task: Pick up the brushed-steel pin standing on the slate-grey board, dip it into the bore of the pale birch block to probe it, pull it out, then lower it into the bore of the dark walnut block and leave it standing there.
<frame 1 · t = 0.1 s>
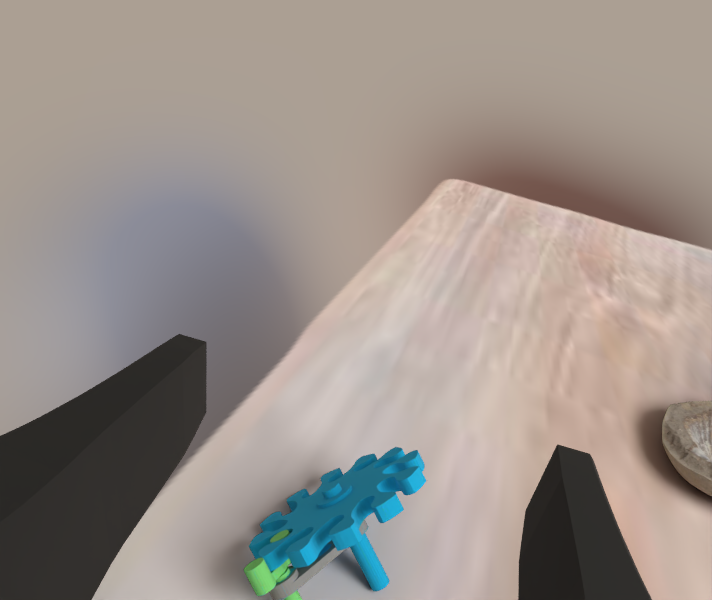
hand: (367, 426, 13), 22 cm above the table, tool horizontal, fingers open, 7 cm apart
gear: (323, 558, 36), on the table
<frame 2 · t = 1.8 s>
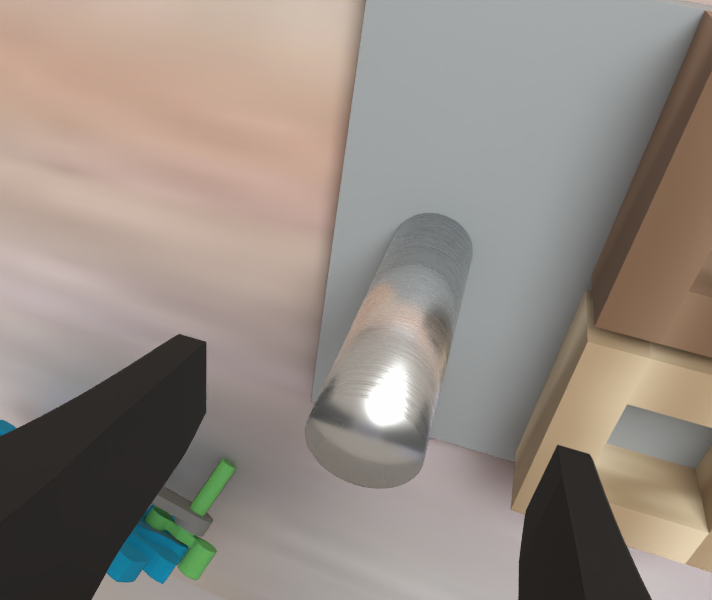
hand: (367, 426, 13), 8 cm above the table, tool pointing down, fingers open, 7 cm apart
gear: (141, 434, 29), on the table
board: (601, 279, 19), on the table
block birch: (659, 410, 20), resting on board
pin: (432, 249, 19), point 1 cm above the table, touching board
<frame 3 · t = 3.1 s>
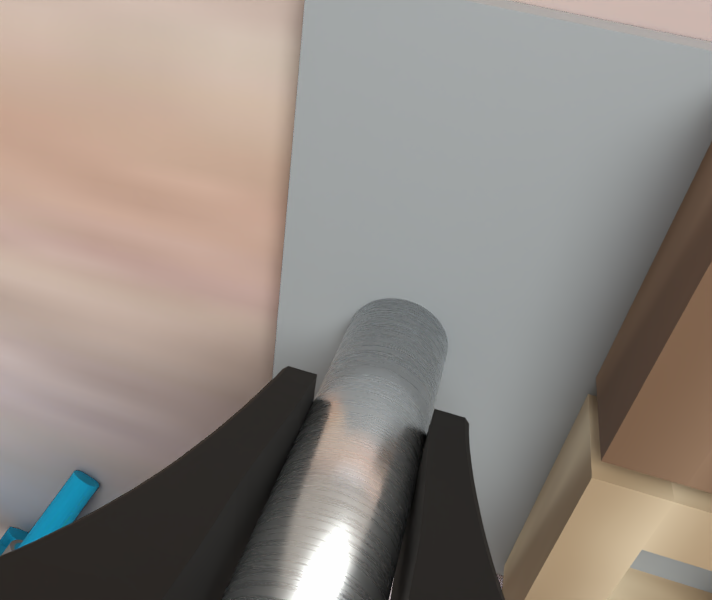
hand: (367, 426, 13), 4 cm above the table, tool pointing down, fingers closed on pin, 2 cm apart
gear: (81, 513, 26), on the table
board: (608, 377, 15), on the table
block birch: (678, 531, 16), resting on board
pin: (397, 340, 15), point 1 cm above the table, touching board, gripper
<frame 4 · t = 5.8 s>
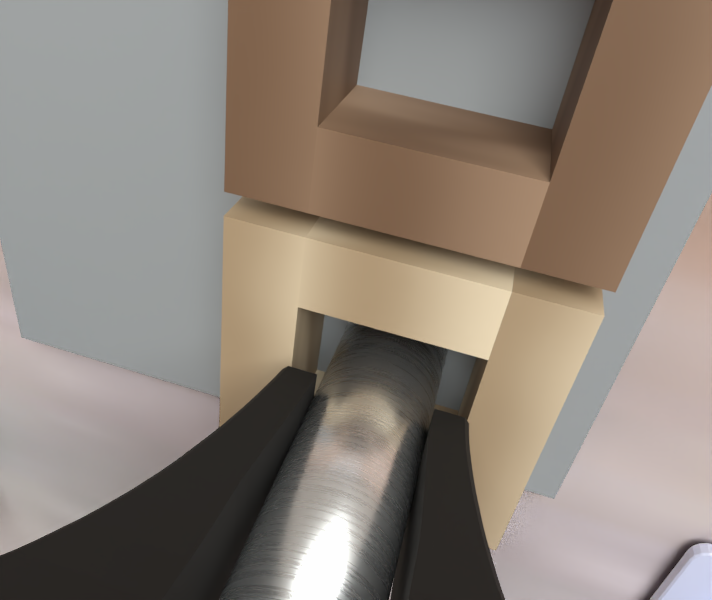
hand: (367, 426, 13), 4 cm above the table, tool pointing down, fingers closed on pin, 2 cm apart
board: (306, 157, 15), on the table
block birch: (400, 333, 16), resting on board
pin: (399, 334, 15), point 1 cm above the table, touching gripper
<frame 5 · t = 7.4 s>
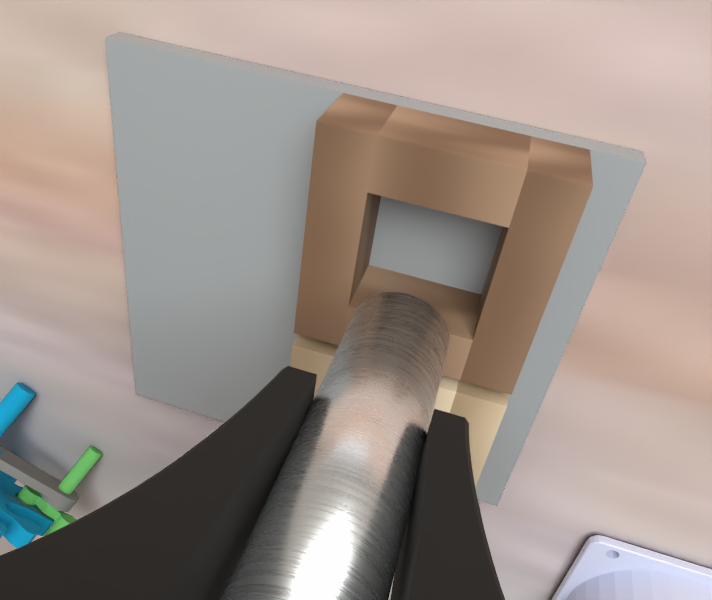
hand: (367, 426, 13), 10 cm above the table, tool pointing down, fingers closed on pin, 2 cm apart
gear: (23, 420, 33), on the table
block walnut: (436, 229, 20), resting on board
board: (336, 294, 23), on the table
block birch: (394, 400, 24), resting on board
pin: (399, 334, 15), point 6 cm above the table, touching gripper
when the fingers open (5 cm above the table, at t = 8.7 s): pin stays where it is, resting on board.
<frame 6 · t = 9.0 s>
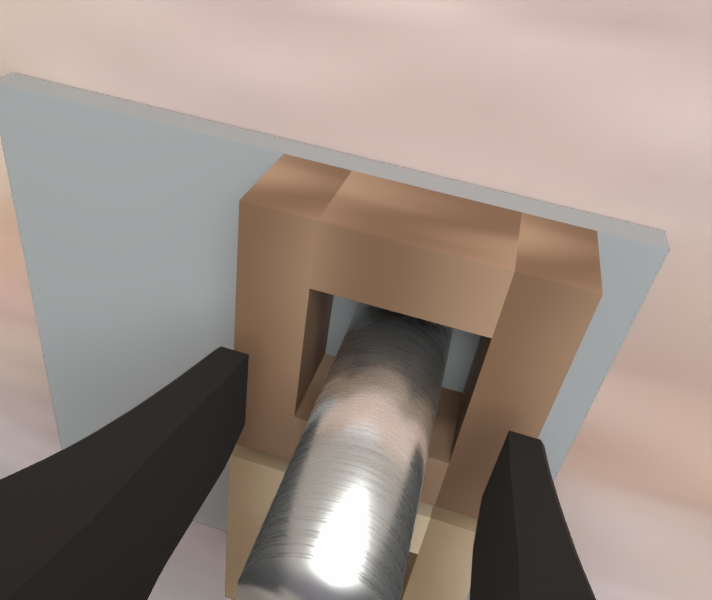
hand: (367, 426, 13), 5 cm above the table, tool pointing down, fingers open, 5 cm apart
block walnut: (405, 317, 16), resting on board
board: (290, 379, 19), on the table
block birch: (362, 502, 20), resting on board
pin: (406, 315, 16), point 1 cm above the table, touching board
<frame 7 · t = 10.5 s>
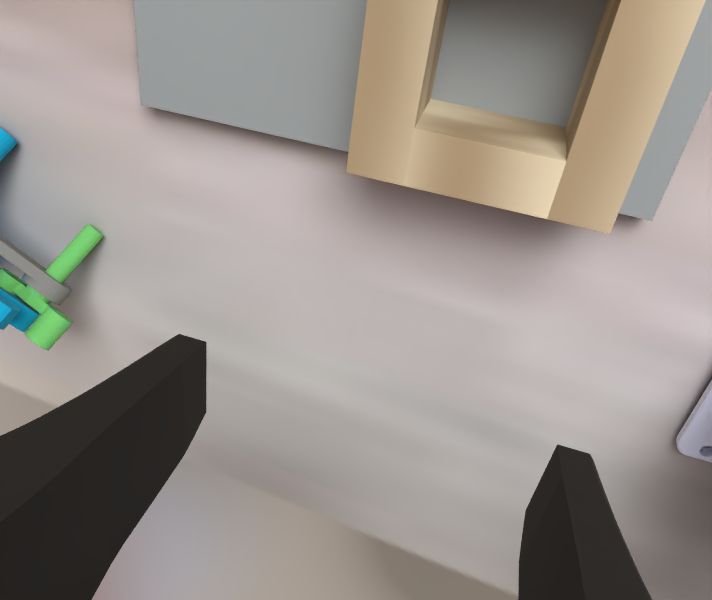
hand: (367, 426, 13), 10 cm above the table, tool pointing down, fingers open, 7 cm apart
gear: (1, 197, 26), on the table
block birch: (515, 42, 17), resting on board
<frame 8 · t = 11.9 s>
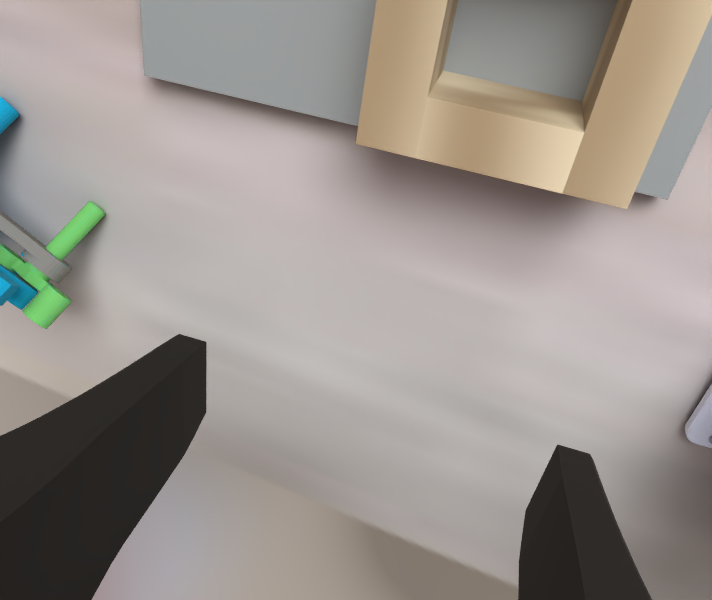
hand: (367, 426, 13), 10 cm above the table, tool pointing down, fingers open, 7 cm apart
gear: (0, 171, 25), on the table
block birch: (532, 11, 16), resting on board
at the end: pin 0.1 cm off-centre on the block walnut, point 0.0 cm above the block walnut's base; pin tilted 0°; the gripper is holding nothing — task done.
